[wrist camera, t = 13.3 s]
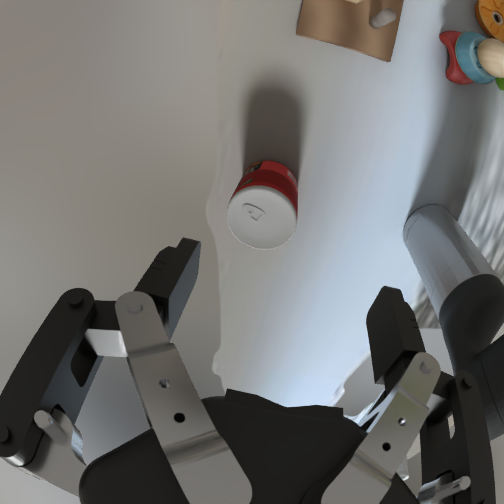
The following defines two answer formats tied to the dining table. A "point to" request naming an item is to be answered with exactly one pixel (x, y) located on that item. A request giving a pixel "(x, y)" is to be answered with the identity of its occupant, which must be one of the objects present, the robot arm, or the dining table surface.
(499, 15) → the colourful stacking toy
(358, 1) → the beech gear
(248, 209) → the canned food
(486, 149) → the dining table surface
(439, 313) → the robot arm
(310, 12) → the gear board
